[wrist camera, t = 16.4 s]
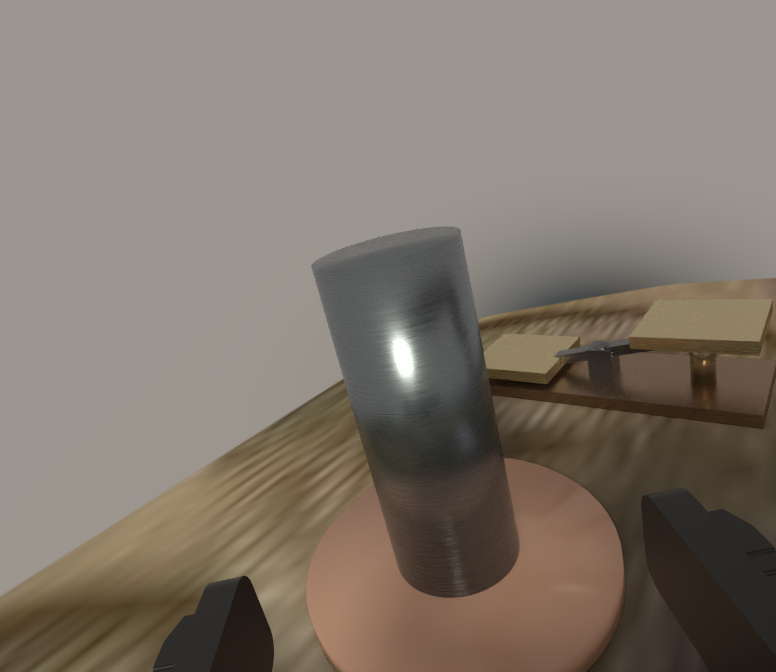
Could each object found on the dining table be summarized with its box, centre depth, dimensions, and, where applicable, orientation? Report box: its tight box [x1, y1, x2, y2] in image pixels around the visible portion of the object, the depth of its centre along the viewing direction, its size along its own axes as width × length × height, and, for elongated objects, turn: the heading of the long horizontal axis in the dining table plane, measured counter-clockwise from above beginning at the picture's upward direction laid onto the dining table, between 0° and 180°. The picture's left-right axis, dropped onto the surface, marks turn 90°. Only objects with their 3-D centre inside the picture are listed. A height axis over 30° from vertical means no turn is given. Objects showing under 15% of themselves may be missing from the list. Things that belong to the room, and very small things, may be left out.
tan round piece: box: [306, 458, 626, 672], centre depth 24 cm, size 14×14×1 cm
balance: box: [483, 299, 776, 428], centre depth 36 cm, size 19×7×5 cm, turn 51°
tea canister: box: [312, 227, 520, 598], centre depth 22 cm, size 6×6×14 cm
